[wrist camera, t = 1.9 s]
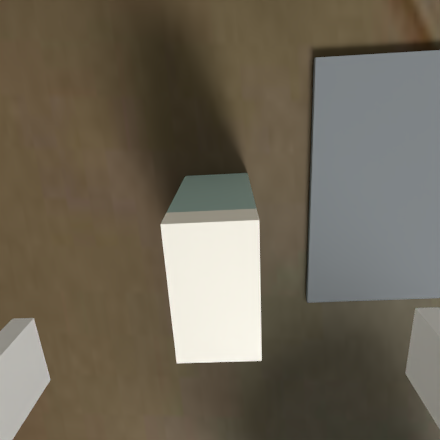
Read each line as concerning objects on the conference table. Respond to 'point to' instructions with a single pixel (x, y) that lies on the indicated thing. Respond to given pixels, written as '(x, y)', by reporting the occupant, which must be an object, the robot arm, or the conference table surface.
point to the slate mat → (375, 178)
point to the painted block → (214, 269)
